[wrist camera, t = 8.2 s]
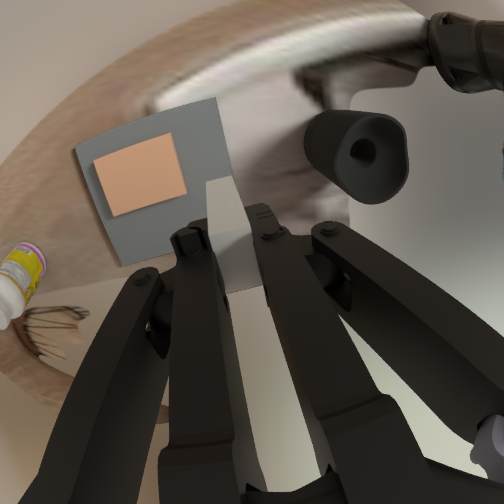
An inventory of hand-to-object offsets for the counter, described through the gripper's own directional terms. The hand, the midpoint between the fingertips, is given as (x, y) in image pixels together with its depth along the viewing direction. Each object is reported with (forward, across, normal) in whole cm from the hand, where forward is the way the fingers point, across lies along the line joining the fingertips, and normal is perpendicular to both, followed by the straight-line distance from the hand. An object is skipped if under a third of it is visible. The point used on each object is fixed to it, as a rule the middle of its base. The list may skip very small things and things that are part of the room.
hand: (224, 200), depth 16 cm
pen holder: (+18, -15, +2) cm, 23 cm away
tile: (+15, +4, 0) cm, 15 cm away
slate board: (+17, +7, +2) cm, 18 cm away
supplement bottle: (+17, +31, +6) cm, 36 cm away
